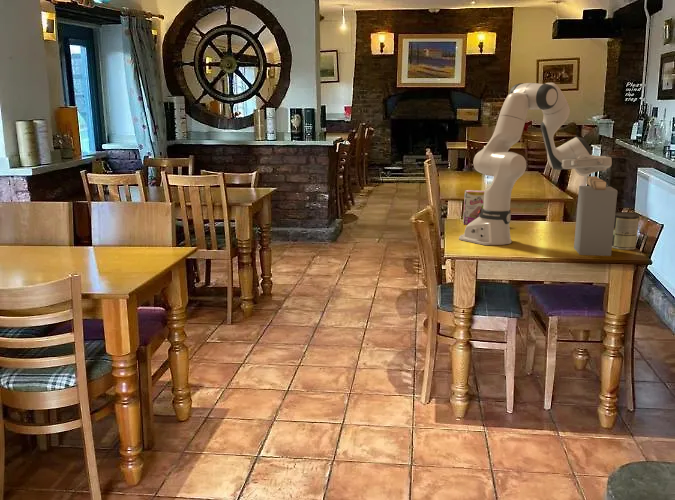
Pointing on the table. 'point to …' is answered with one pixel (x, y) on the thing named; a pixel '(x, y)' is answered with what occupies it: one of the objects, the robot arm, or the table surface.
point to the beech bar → (596, 183)
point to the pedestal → (595, 221)
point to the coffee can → (625, 230)
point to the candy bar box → (472, 205)
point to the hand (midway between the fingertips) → (587, 161)
